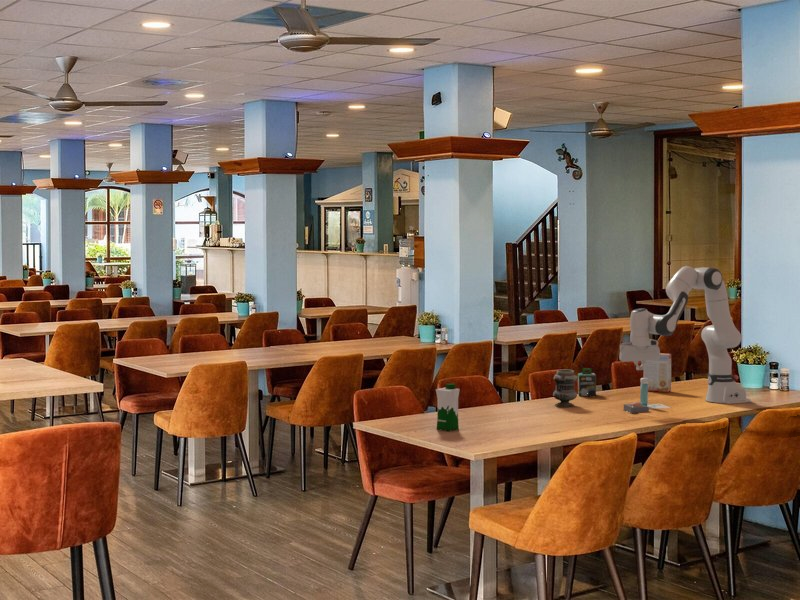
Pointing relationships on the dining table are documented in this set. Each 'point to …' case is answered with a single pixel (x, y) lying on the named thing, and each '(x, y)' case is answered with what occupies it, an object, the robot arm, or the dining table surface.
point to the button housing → (636, 408)
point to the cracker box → (658, 373)
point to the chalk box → (586, 383)
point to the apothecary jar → (565, 387)
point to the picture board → (657, 406)
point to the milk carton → (447, 407)
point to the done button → (635, 404)
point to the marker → (644, 391)
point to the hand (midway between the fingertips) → (639, 369)
